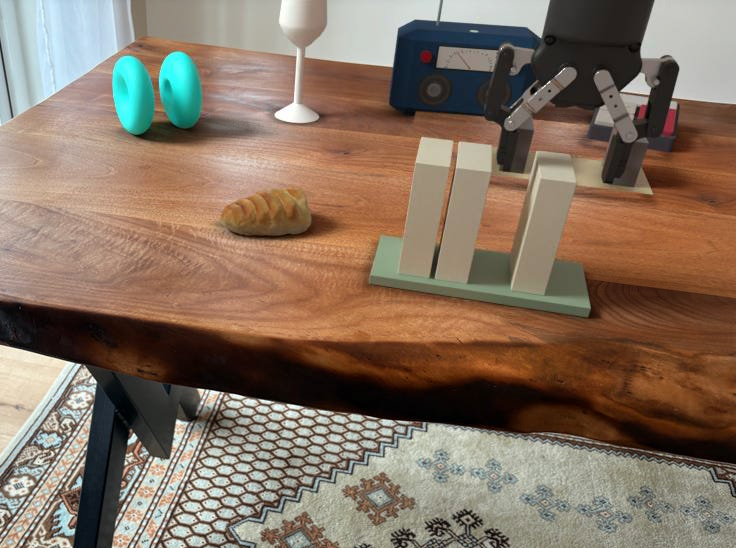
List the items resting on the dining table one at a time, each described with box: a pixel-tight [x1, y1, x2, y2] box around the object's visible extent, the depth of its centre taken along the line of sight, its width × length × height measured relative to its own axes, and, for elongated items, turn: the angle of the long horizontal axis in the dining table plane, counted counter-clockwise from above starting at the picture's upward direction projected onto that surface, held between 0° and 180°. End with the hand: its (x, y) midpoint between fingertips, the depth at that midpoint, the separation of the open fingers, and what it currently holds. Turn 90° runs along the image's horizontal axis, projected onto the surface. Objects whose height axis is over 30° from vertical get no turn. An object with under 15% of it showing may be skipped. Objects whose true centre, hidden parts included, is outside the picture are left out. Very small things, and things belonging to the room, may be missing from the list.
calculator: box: [586, 92, 681, 153], centre depth 111 cm, size 11×4×15 cm
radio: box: [388, 0, 541, 117], centre depth 112 cm, size 21×9×20 cm, turn 82°
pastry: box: [220, 185, 312, 237], centre depth 82 cm, size 9×7×4 cm
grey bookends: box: [491, 115, 654, 195], centre depth 96 cm, size 20×10×6 cm, turn 76°
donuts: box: [112, 51, 203, 136], centre depth 104 cm, size 10×10×10 cm
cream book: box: [510, 150, 578, 295], centre depth 70 cm, size 3×7×11 cm, turn 166°
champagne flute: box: [274, 0, 328, 124], centre depth 107 cm, size 7×7×24 cm
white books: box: [368, 136, 592, 318], centre depth 72 cm, size 20×9×12 cm, turn 76°
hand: (555, 174), depth 68 cm, fingers open, 8 cm apart
